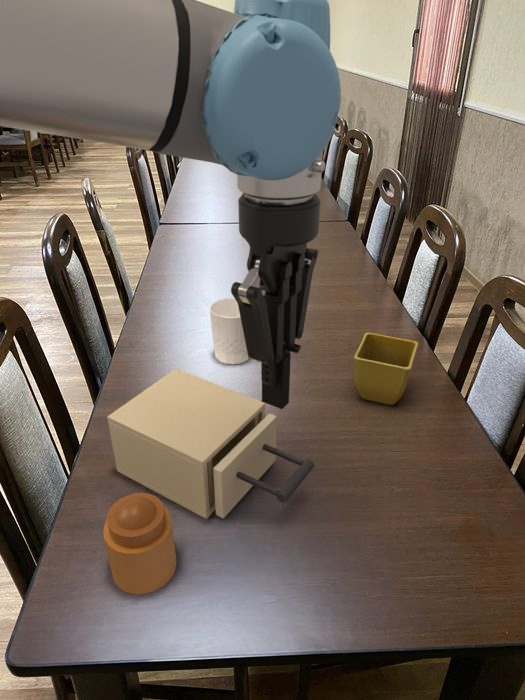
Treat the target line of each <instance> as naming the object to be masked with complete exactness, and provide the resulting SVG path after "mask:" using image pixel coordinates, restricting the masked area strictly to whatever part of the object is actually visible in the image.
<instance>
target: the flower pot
mask: <svg viewBox="0 0 525 700" xmlns="http://www.w3.org/2000/svg"><path fill="white" fill-rule="evenodd" d="M418 346H419V342H418V341H416V340H412V339H406V338H400V337H395V336H389V335H383V334H379V333H374V332H365V333H364V335H363V338H362V340H361V342H360V345H359V346H358V349H357V350H356V352H355V354H354V356H353V372H354V373H353V374H354V376H353V377H354V378H353V379H354V384H355V389H356V390H357V393H358V394H359V396H360V397H361V398H362V399H363V400H367V401H371V402H375V403H379V404H383V405H388V406H393V405H395V404H396V403H397V402H398V401H399V400H400V399H401V398H402V396H403V394H404V393H405V390H406V386H407V383H408V379H409V376H410V373H411V370H412V366H413V363H414V360H415V357H416V354H417V350H418Z"/></svg>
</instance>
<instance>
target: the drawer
mask: <svg viewBox="0 0 525 700" xmlns="http://www.w3.org/2000/svg"><path fill="white" fill-rule="evenodd" d="M277 421H278V416H277V415H274V414H272V413H268V414H267V415H265V418H264V419H263V420H262V421H261V422H260V423H259V424H258V415H257V416H256V417H255V418H254V419H253V420H252V421H250V422H249V423H248V424H247V425H246V426H245V427H244V428H243V429H242V430H241V431H240V432H239V433H238V434H237V435H236V436H235V437H234V438H233V439H232V440H231V441H230V442H229V443H227V444H226V445H225V446H224V447H223V448H222V449H221V450H220V451H219V452H218V453H217V454H216V455H215V456H214V457H213V458H212V459H211V460H210V461H209V462H208V463H207V472H208V488H209V504H210V505H211V504H212V503H213V502H214V501H215V507H216V510H215V515H216V516H217V517H219V518H221V519H225V518H226V517H227V515H228V514H229V513H230V512H231V511H232V510H233V509H234V508H235V507H236V505H237V504H238V503H239V502H241V500H242V498H244V497H245V495H246V494H247V493H248V492H249V491H250V490H251V488H253V486H254V487H255V488H258V489H260V490H262V491H264V492H266V493H268V494H271V495H273V496H275V498H276V499H277V501H278V502H280V503H281V504H286V503H287V502H288V500H289V499H290V498H291V497H292V495H293V494H294V493H295V492H296V490H297V489H298V488H299V487H300V485H301V484H302V482H303V481H305V479H306V478H307V476H309V473H311V471H312V470H313V469H314V468H315V463H314V461H313V460H312V459H310V458H306V459H301V458H299V457H297V456H294V455H292V454H290V453H287V452H285V451H283V450H281V449H278V448H277V425H278V424H277V423H278V422H277ZM277 457H279V458H281V459H284V460H286V461H288V462H290V463H293V464H295V465H298V466H299V467H298V468H297V469H296V470H295V471H294V473H293V474H292V475H291V476H290V477H289V478H288V480H286V482H285V483H284V485H283V486H282V487H281V488H280V489H278V488H276V487H273V486H272V485H269V484H267V483H266V482H263V481H262V480H261V481H260V478H262V476H264V474H265V473H266V472H267V471H268V470H269V468H270V467H271V466H272V465H273V464H274V463H275V462H276V460H277Z"/></svg>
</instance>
